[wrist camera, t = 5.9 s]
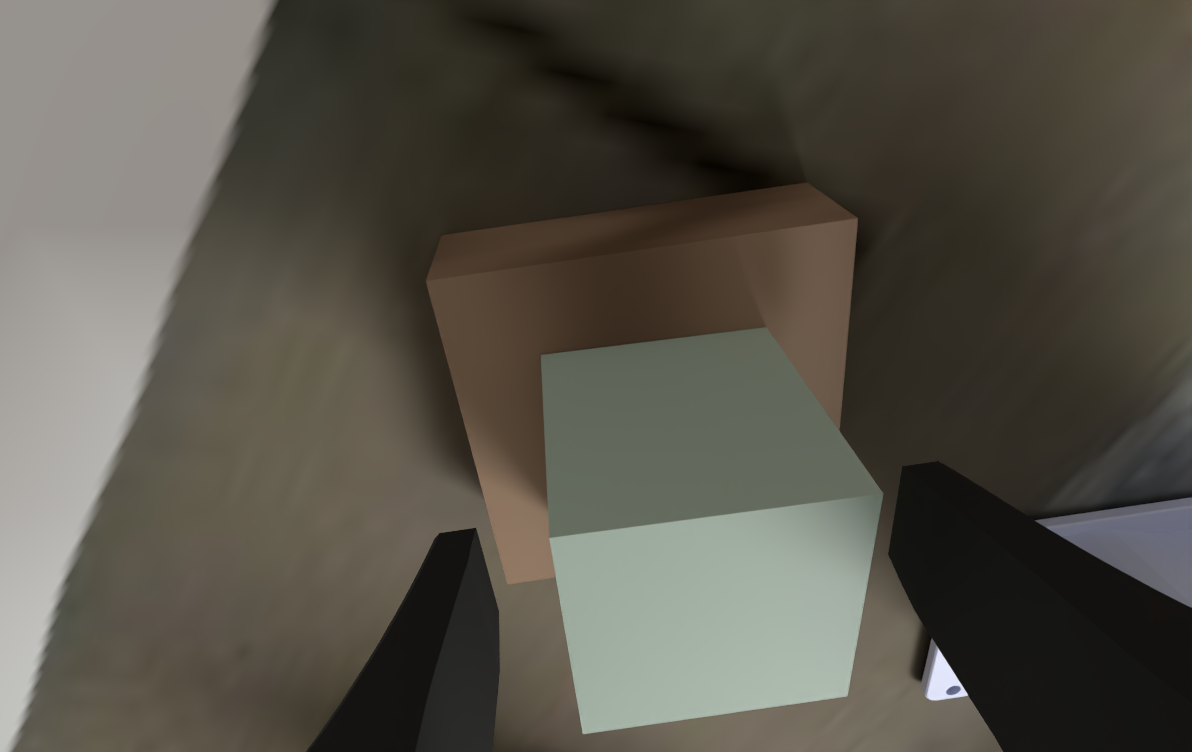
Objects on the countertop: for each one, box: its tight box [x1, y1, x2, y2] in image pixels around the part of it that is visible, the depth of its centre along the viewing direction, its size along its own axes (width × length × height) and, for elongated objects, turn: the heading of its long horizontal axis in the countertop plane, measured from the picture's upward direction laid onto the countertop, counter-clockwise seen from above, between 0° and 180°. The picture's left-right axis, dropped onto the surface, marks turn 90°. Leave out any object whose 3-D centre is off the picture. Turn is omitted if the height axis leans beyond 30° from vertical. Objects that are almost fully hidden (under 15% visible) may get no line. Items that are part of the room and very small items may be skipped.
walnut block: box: [426, 183, 858, 584], centre depth 15 cm, size 8×8×3 cm
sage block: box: [541, 327, 883, 734], centre depth 12 cm, size 4×4×5 cm
